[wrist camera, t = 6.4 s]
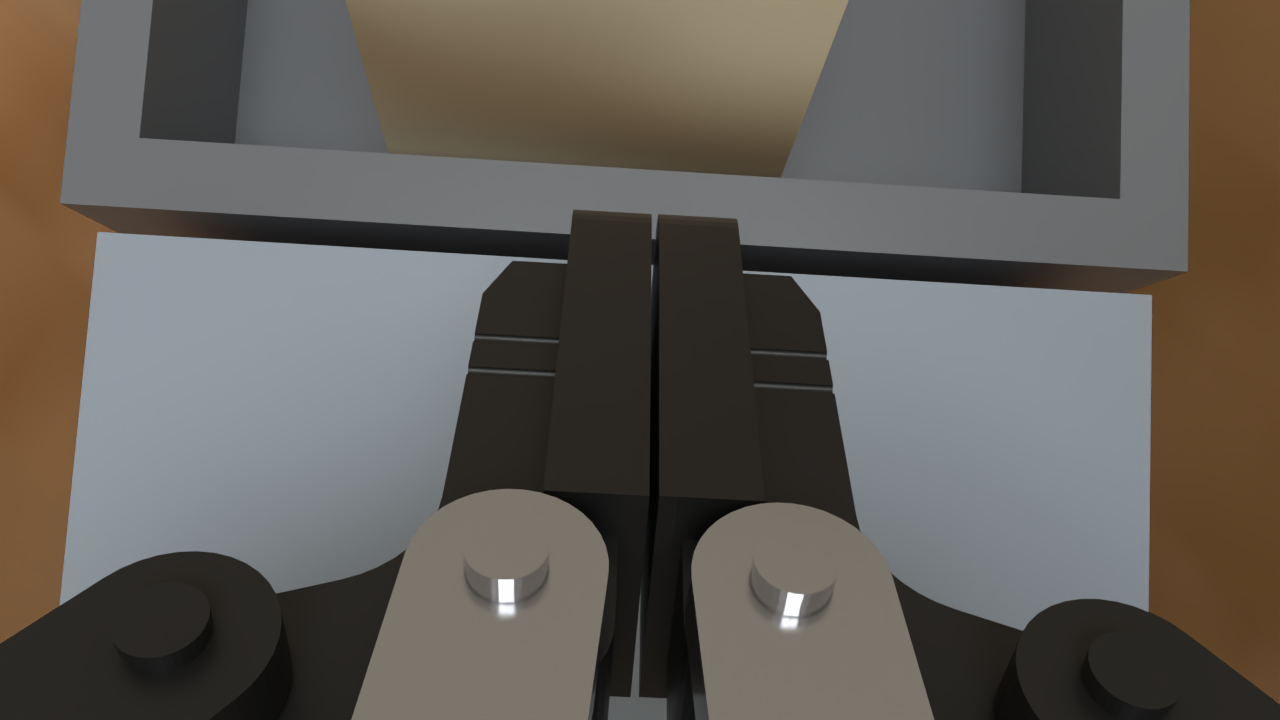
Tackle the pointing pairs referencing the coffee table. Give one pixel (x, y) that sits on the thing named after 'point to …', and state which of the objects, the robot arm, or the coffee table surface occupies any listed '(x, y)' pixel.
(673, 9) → the block
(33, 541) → the coffee table surface
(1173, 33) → the bin
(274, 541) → the platform
